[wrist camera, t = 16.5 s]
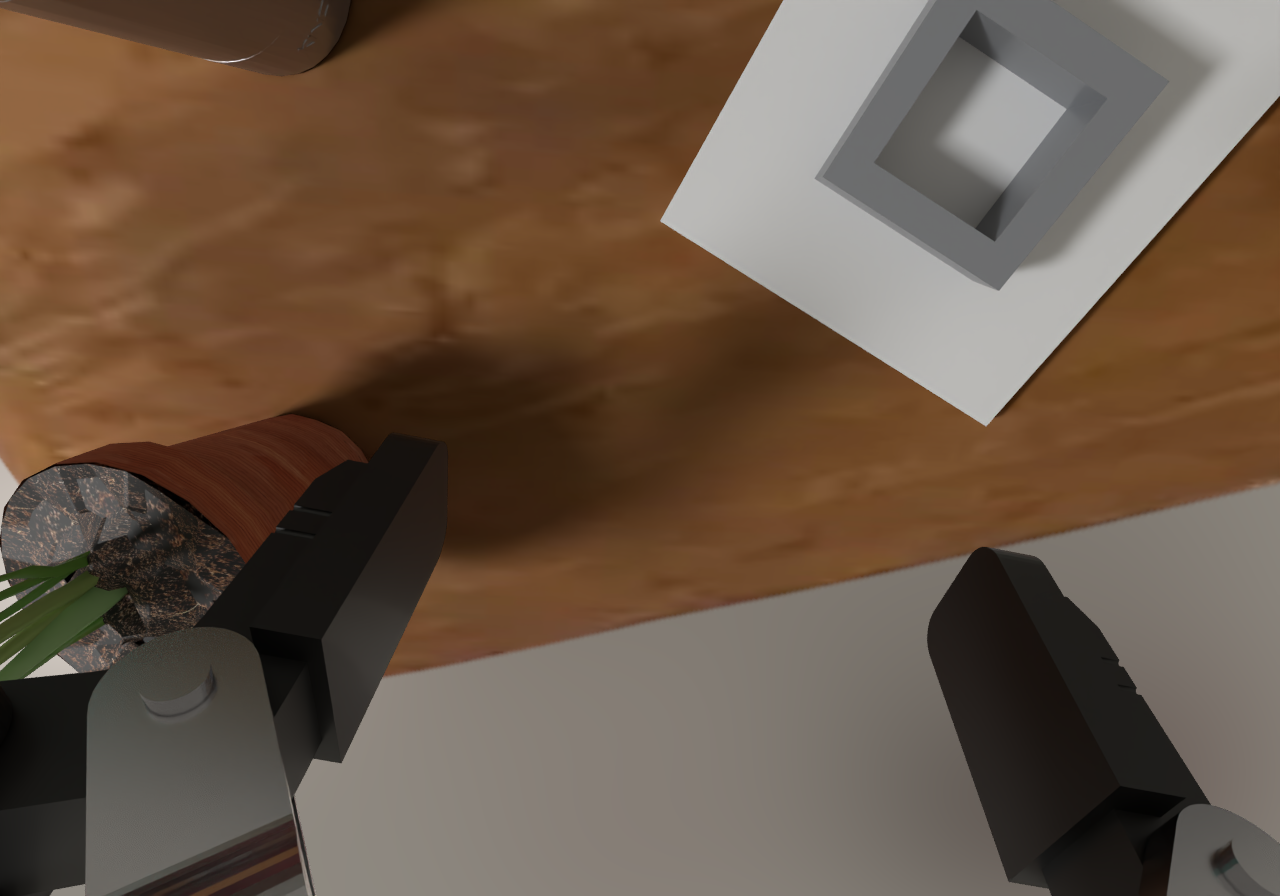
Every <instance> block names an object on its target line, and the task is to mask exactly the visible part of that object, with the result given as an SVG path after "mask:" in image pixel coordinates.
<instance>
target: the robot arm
mask: <svg viewBox="0 0 1280 896" xmlns="http://www.w3.org/2000/svg"><path fill="white" fill-rule="evenodd" d="M350 2H351V0H0V8H2V9H6V10H10V11H14V12H18V13H22V14H26V15H30V16H34V17H38V18H42V19H46V20H50V21H54V22H58V23H62V24H66V25H70V26H74V27H78V28H82V29H86V30H90V31H94V32H98V33H102V34H106V35H110V36H114V37H118V38H122V39H126V40H130V41H134V42H138V43H142V44H146V45H150V46H154V47H158V48H162V49H166V50H170V51H174V52H178V53H182V54H186V55H190V56H194V57H198V58H202V59H205V60H209V61H213V62H217V63H221V64H225V65H229V66H233V67H237V68H241V69H245V70H249V71H254V72H258V73H262V74H267V75H276V76H286V75H293V74H299V73H301V72H303V71H305V70H308V69H310V68H312V67H314V66H315V65H316V64H318V63H319V62H320V61H321V60H322V59H324V58H325V57H326V56H327V55H328V54H329V52H330V51H331V50H332V48H333V47H334V46H335V44H336V43H337V41H338V40H339V38H340V35H341V33H342V31H343V28H344V26H345V24H346V21H347V16H348V11H349V7H350ZM447 487H448V451H447V446H446V443H445V442H442V441H436V440H431V439H426V438H421V437H415V436H410V435H405V434H400V433H391V434H390V435H388V437H387V438H386V439H385V440H384V442H383V443H382V445H381V446H380V447H379V449H378V450H377V451H376V453H375V454H374V456H373V457H372V458H371V460H370V461H369V462H368V463H363V462H358V461H353V460H346V461H344V462H343V463H341V464H339V465H338V466H336V467H334V468H333V469H331V470H329V471H328V472H326V473H324V474H322V475H321V476H319V477H317V478H316V479H315V480H314V481H313V482H312V483H311V484H310V486H309V487H308V488H307V489H306V491H305V492H304V493H303V494H302V496H301V497H300V498H299V499H298V500H297V502H296V503H295V504H294V508H293V510H289V511H288V513H287V514H286V515H285V516H284V518H283V519H282V520H281V521H280V523H279V524H278V525H277V526H276V531H275V533H272V532H271V534H270V535H269V536H268V537H267V538H266V540H265V541H264V542H263V543H262V545H261V546H260V547H259V548H258V550H257V551H256V552H255V553H254V554H253V556H252V557H251V558H250V559H249V561H248V562H247V563H246V564H245V565H244V567H243V568H242V569H241V570H240V572H239V573H238V574H237V575H236V577H235V578H234V579H233V580H232V581H231V583H230V584H229V585H228V586H227V588H226V589H225V590H224V591H223V592H222V594H221V595H220V596H219V597H218V599H217V600H216V601H215V602H214V604H213V605H212V606H211V607H210V608H209V610H208V611H207V612H206V613H205V615H204V616H203V617H202V618H201V619H200V620H199V621H198V623H197V624H196V625H195V626H194V627H193V628H188V629H183V630H179V631H175V632H171V633H168V634H165V635H162V636H159V637H157V638H155V639H153V640H150V641H148V642H146V643H144V644H142V645H141V646H139V647H137V648H135V649H134V650H132V651H131V652H129V653H128V654H127V655H125V656H124V657H122V658H121V659H120V660H119V661H118V662H116V663H115V664H114V665H113V666H112V667H111V668H110V669H107V670H100V671H93V672H85V673H75V674H65V675H55V676H45V677H35V678H25V679H16V680H6V681H0V896H50V894H51V893H52V891H53V890H55V889H60V888H66V887H71V886H77V885H82V884H85V885H86V886H85V896H316V892H315V888H314V883H313V878H312V874H311V869H310V865H309V860H308V856H307V851H306V846H305V841H304V837H303V832H302V827H301V823H300V818H299V814H298V809H297V804H296V800H295V795H294V794H295V792H296V790H297V788H298V786H299V784H300V783H301V781H302V779H303V777H304V775H305V773H306V771H307V769H308V767H309V765H310V763H311V761H312V759H313V758H314V759H320V760H326V761H331V762H338V763H342V761H343V759H344V757H345V755H346V752H347V750H348V748H349V746H350V744H351V742H352V740H353V738H354V735H355V734H356V731H357V729H358V727H359V725H360V723H361V721H362V719H363V717H364V715H365V713H366V710H367V708H368V706H369V704H370V702H371V700H372V698H373V696H374V694H375V691H376V689H377V687H378V685H379V683H380V681H381V679H382V677H383V675H384V673H385V670H386V668H387V666H388V664H389V662H390V660H391V658H392V656H393V654H394V652H395V649H396V647H397V645H398V643H399V641H400V639H401V637H402V635H403V633H404V631H405V628H406V626H407V624H408V622H409V620H410V618H411V616H412V614H413V612H414V609H415V607H416V605H417V603H418V601H419V599H420V597H421V595H422V593H423V591H424V588H425V586H426V584H427V582H428V580H429V578H430V576H431V574H432V572H433V570H434V567H435V565H436V563H437V561H438V559H439V556H440V553H441V550H442V547H443V543H444V539H445V534H446V527H447ZM927 643H928V650H929V654H930V657H931V660H932V663H933V666H934V669H935V672H936V675H937V677H938V680H939V683H940V686H941V689H942V691H943V695H944V697H945V700H946V703H947V706H948V709H949V712H950V714H951V718H952V720H953V723H954V726H955V729H956V732H957V734H958V738H959V741H960V743H961V746H962V749H963V752H964V755H965V758H966V761H967V764H968V766H969V769H970V772H971V775H972V778H973V781H974V783H975V787H976V789H977V792H978V795H979V798H980V801H981V804H982V807H983V809H984V812H985V815H986V818H987V821H988V824H989V827H990V829H991V832H992V835H993V838H994V841H995V844H996V847H997V850H998V852H999V855H1000V858H1001V861H1002V864H1003V867H1004V870H1005V872H1006V876H1007V878H1008V881H1009V882H1014V883H1019V884H1025V885H1031V886H1036V887H1042V888H1048V889H1049V890H1050V893H1051V895H1052V896H1280V844H1279V843H1278V842H1277V841H1276V840H1275V839H1273V838H1272V837H1271V836H1270V835H1268V834H1267V833H1266V832H1264V831H1263V830H1261V829H1260V828H1259V827H1257V826H1256V825H1254V824H1253V823H1251V822H1249V821H1248V820H1246V819H1244V818H1243V817H1241V816H1239V815H1237V814H1235V813H1232V812H1231V811H1228V810H1226V809H1223V808H1220V807H1217V806H1212V805H1211V804H1210V803H1209V801H1208V800H1207V798H1206V796H1205V795H1204V793H1203V792H1202V790H1201V789H1200V787H1199V785H1198V784H1197V782H1196V781H1195V779H1194V777H1193V776H1192V774H1191V773H1190V771H1189V770H1188V768H1187V767H1186V765H1185V763H1184V762H1183V760H1182V758H1181V757H1180V755H1179V754H1178V752H1177V751H1176V749H1175V747H1174V746H1173V744H1172V743H1171V741H1170V740H1169V738H1168V736H1167V735H1166V733H1165V732H1164V730H1163V728H1162V727H1161V726H1160V724H1159V722H1158V721H1157V719H1156V717H1155V716H1154V714H1153V713H1152V711H1151V710H1150V708H1149V706H1148V705H1147V703H1146V702H1145V700H1144V699H1143V697H1142V695H1138V694H1136V686H1135V684H1134V683H1133V681H1132V680H1131V678H1130V677H1129V675H1128V673H1127V672H1126V670H1125V669H1124V667H1120V666H1119V665H1118V662H1119V659H1118V657H1117V656H1116V654H1115V653H1114V651H1113V650H1112V648H1111V646H1110V645H1109V643H1108V642H1107V640H1106V639H1105V637H1104V635H1103V634H1102V632H1101V631H1100V629H1099V628H1098V627H1097V626H1096V625H1095V624H1094V623H1093V622H1092V621H1091V620H1090V619H1089V618H1088V617H1087V616H1086V615H1085V614H1084V613H1083V612H1082V611H1081V610H1080V609H1079V608H1078V607H1077V606H1076V605H1075V604H1074V603H1073V602H1072V601H1070V599H1069V598H1068V597H1064V596H1063V594H1062V592H1061V591H1060V589H1059V588H1058V586H1057V584H1056V583H1055V581H1054V580H1053V578H1052V576H1051V574H1050V573H1049V571H1048V569H1047V568H1046V566H1045V565H1044V564H1043V562H1042V561H1041V560H1040V559H1038V558H1037V557H1035V556H1031V555H1025V554H1020V553H1015V552H1009V551H1004V550H999V549H994V548H989V547H981V548H978V549H977V550H975V551H974V552H973V553H972V554H971V555H970V557H969V558H968V560H967V562H966V563H965V564H964V566H963V567H962V569H961V571H960V572H959V574H958V575H957V577H956V578H955V580H954V581H953V583H952V585H951V586H950V588H949V589H948V590H947V592H946V594H945V595H944V597H943V598H942V600H941V601H940V603H939V604H938V606H937V607H936V609H935V611H934V612H933V614H932V616H931V619H930V622H929V626H928V634H927Z"/></svg>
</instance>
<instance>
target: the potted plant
mask: <svg viewBox="0 0 1280 896" xmlns="http://www.w3.org/2000/svg"><path fill="white" fill-rule="evenodd" d="M346 460H353V461H358V462H363V463H368V461H367V459H366V457H365V456H364V454H363V452H362V451H361V449H360V448H359V447H358V446H357V445H356V444H355V443H354V442H353V441H352V440H351V439H349V438H348V437H347V436H346V435H345V434H344V433H343V432H342V431H340V430H338V429H336V428H334V427H331V426H329V425H327V424H324V423H322V422H320V421H317V420H314V419H310V418H306V417H302V416H299V415H295V414H289V415H284V416H279V417H273V418H268V419H265V420H261V421H257V422H254V423H250V424H247V425H243V426H240V427H236V428H232V429H229V430H225V431H222V432H218V433H214V434H211V435H207V436H204V437H200V438H197V439H193V440H189V441H186V442H182V443H179V444H175V445H171V446H168V447H167V446H164V445H160V444H156V443H152V442H135V443H118V444H109V445H106V446H103V447H100V448H98V449H95V450H92V451H89V452H86V453H83V454H81V455H78V456H75V457H72V458H69V459H67V460H64V461H61V462H59V463H56V464H54V465H52V466H50V467H48V468H46V469H44V470H42V471H40V472H38V473H36V474H34V475H32V476H30V477H28V478H26V479H24V480H23V481H22V482H21V484H20V485H19V486H18V488H17V489H16V491H15V492H14V494H13V495H12V497H11V498H10V500H9V501H8V503H7V504H6V506H5V507H4V512H3V520H2V525H1V535H0V547H1V552H2V558H3V561H4V565H5V570H6V574H4V575H1V576H0V582H2V581H5V580H8V582H9V584H10V586H11V587H10V588H7V589H5V590H3V591H1V592H0V601H2V600H4V599H6V598H8V597H11V596H14V595H16V597H17V599H18V601H17V602H15V603H14V604H13V605H11V606H10V607H8V608H7V609H5V610H4V611H2V612H0V622H1V621H2V620H4V619H6V618H7V617H9V616H11V615H12V614H14V613H15V612H17V611H19V610H20V609H23V610H21V611H20V612H18V613H17V614H15V615H14V616H12V617H10V618H9V619H8V620H6V621H5V622H3V623H2V624H0V644H1V643H2V642H4V641H5V640H7V639H9V638H10V637H12V636H13V637H12V638H11V639H9V640H8V641H7V642H6V643H4V644H3V645H2V646H1V647H0V665H1V664H2V663H4V662H5V661H6V660H7V659H9V658H10V657H12V656H13V655H14V654H16V653H17V652H18V651H20V650H21V649H23V648H24V647H25V646H26V647H25V648H24V649H23V650H22V651H21V652H20V653H19V654H18V655H17V656H16V657H15V658H14V659H13V660H12V661H10V662H9V663H8V664H7V665H6V666H5V667H4V668H3V669H2V670H1V671H0V681H6V680H16V679H24V678H25V677H26V676H28V675H29V674H31V673H32V672H33V671H35V670H36V669H38V668H39V667H40V666H42V665H43V664H44V663H46V662H47V661H49V660H50V659H51V658H53V657H54V656H55V655H58V656H60V657H61V658H62V659H63V660H64V661H66V662H67V663H68V664H69V665H71V666H72V667H73V668H74V669H75V670H76V671H77V672H79V673H85V672H93V671H100V670H107V669H110V668H111V667H112V666H113V665H114V664H115V663H116V662H118V661H119V660H120V659H121V658H122V657H124V656H125V655H127V654H128V653H129V652H131V651H132V650H134V649H135V648H137V647H139V646H141V645H142V644H144V643H146V642H148V641H150V640H153V639H155V638H157V637H159V636H162V635H165V634H168V633H171V632H175V631H179V630H183V629H188V628H193V627H194V626H195V625H196V624H197V623H198V621H199V620H200V619H201V618H202V617H203V616H204V615H205V613H206V612H207V611H208V610H209V608H210V607H211V606H212V605H213V604H214V602H215V601H216V600H217V599H218V597H219V596H220V595H221V594H222V592H223V591H224V590H225V589H226V588H227V586H228V585H229V584H230V583H231V581H232V580H233V579H234V578H235V577H236V575H237V574H238V573H239V572H240V570H241V569H242V568H243V567H244V565H245V564H246V563H247V562H248V561H249V559H250V558H251V557H252V556H253V554H254V553H255V552H256V551H257V550H258V548H259V547H260V546H261V545H262V543H263V542H264V541H265V540H266V538H267V537H268V536H269V535H270V534H271V532H272V533H275V531H276V526H277V525H278V524H279V523H280V521H281V520H282V519H283V518H284V516H285V515H286V514H287V513H288V511H289V510H293V508H294V504H295V503H296V502H297V500H298V499H299V498H300V497H301V496H302V494H303V493H304V492H305V491H306V489H307V488H308V487H309V486H310V484H311V483H312V482H313V481H314V480H315V479H316V478H317V477H319V476H321V475H322V474H324V473H326V472H328V471H329V470H331V469H333V468H334V467H336V466H338V465H339V464H341V463H343V462H344V461H346ZM15 634H16V635H15ZM14 635H15V636H14Z"/></svg>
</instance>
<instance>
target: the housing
mask: <svg viewBox="0 0 1280 896" xmlns="http://www.w3.org/2000/svg"><path fill="white" fill-rule="evenodd" d="M1279 96H1280V0H783V2H782V4H781V6H780V7H779V9H778V11H777V13H776V15H775V16H774V18H773V20H772V22H771V23H770V25H769V27H768V29H767V31H766V32H765V34H764V36H763V38H762V40H761V41H760V43H759V45H758V47H757V49H756V50H755V52H754V54H753V56H752V58H751V59H750V61H749V63H748V65H747V66H746V68H745V70H744V72H743V74H742V75H741V77H740V79H739V81H738V83H737V84H736V86H735V88H734V90H733V92H732V93H731V95H730V97H729V99H728V101H727V102H726V104H725V106H724V108H723V110H722V111H721V113H720V115H719V117H718V118H717V120H716V122H715V124H714V126H713V127H712V129H711V131H710V133H709V135H708V136H707V138H706V140H705V142H704V144H703V145H702V147H701V149H700V151H699V153H698V154H697V156H696V158H695V160H694V161H693V163H692V165H691V167H690V169H689V170H688V172H687V174H686V176H685V178H684V179H683V181H682V183H681V185H680V187H679V188H678V190H677V192H676V194H675V196H674V197H673V199H672V201H671V203H670V205H669V206H668V208H667V210H666V212H665V213H664V215H663V217H662V219H661V222H662V223H664V224H666V225H667V226H669V227H670V228H672V229H674V230H675V231H677V232H678V233H680V234H682V235H683V236H685V237H686V238H688V239H689V240H691V241H693V242H694V243H696V244H697V245H699V246H701V247H702V248H704V249H705V250H707V251H709V252H710V253H712V254H713V255H715V256H716V257H718V258H720V259H721V260H723V261H724V262H726V263H728V264H729V265H731V266H732V267H734V268H736V269H737V270H739V271H740V272H742V273H744V274H745V275H747V276H748V277H750V278H751V279H753V280H755V281H756V282H758V283H759V284H761V285H763V286H764V287H766V288H767V289H769V290H771V291H772V292H774V293H775V294H777V295H778V296H780V297H782V298H783V299H785V300H786V301H788V302H790V303H791V304H793V305H794V306H796V307H798V308H799V309H801V310H802V311H804V312H805V313H807V314H809V315H810V316H812V317H813V318H815V319H817V320H818V321H820V322H821V323H823V324H825V325H826V326H828V327H829V328H831V329H832V330H834V331H836V332H837V333H839V334H840V335H842V336H844V337H845V338H847V339H848V340H850V341H852V342H853V343H855V344H856V345H858V346H859V347H861V348H863V349H864V350H866V351H867V352H869V353H871V354H872V355H874V356H875V357H877V358H879V359H880V360H882V361H883V362H885V363H887V364H888V365H890V366H891V367H893V368H894V369H896V370H898V371H899V372H901V373H902V374H904V375H906V376H907V377H909V378H910V379H912V380H914V381H915V382H917V383H918V384H920V385H921V386H923V387H925V388H926V389H928V390H929V391H931V392H933V393H934V394H936V395H937V396H939V397H941V398H942V399H944V400H945V401H947V402H948V403H950V404H952V405H953V406H955V407H956V408H958V409H960V410H961V411H963V412H964V413H966V414H968V415H969V416H971V417H972V418H974V419H975V420H977V421H979V422H980V423H982V424H983V425H985V426H987V425H988V424H989V423H990V421H991V420H992V419H993V418H994V417H995V416H996V415H997V414H998V412H999V411H1000V410H1001V409H1002V408H1003V407H1004V406H1005V405H1006V403H1007V402H1008V401H1009V400H1010V399H1011V398H1012V397H1013V396H1014V394H1015V393H1016V392H1017V391H1018V390H1019V389H1020V388H1021V387H1022V385H1023V384H1024V383H1025V382H1026V381H1027V380H1028V379H1029V378H1030V376H1031V375H1032V374H1033V373H1034V372H1035V371H1036V370H1037V369H1038V367H1039V366H1040V365H1041V364H1042V363H1043V362H1044V361H1045V360H1046V358H1047V357H1048V356H1049V355H1050V354H1051V353H1052V352H1053V351H1054V349H1055V348H1056V347H1057V346H1058V345H1059V344H1060V343H1061V342H1062V340H1063V339H1064V338H1065V337H1066V336H1067V335H1068V334H1069V332H1070V331H1071V330H1072V329H1073V328H1074V327H1075V326H1076V325H1077V323H1078V322H1079V321H1080V320H1081V319H1082V318H1083V317H1084V316H1085V314H1086V313H1087V312H1088V311H1089V310H1090V309H1091V308H1092V307H1093V305H1094V304H1095V303H1096V302H1097V301H1098V300H1099V299H1100V298H1101V296H1102V295H1103V294H1104V293H1105V292H1106V291H1107V290H1108V289H1109V287H1110V286H1111V285H1112V284H1113V283H1114V282H1115V281H1116V280H1117V278H1118V277H1119V276H1120V275H1121V274H1122V273H1123V272H1124V271H1125V269H1126V268H1127V267H1128V266H1129V265H1130V264H1131V263H1132V262H1133V260H1134V259H1135V258H1136V257H1137V256H1138V255H1139V254H1140V253H1141V251H1142V250H1143V249H1144V248H1145V247H1146V246H1147V245H1148V244H1149V242H1150V241H1151V240H1152V239H1153V238H1154V237H1155V236H1156V235H1157V233H1158V232H1159V231H1160V230H1161V229H1162V228H1163V227H1164V226H1165V224H1166V223H1167V222H1168V221H1169V220H1170V219H1171V218H1172V217H1173V215H1174V214H1175V213H1176V212H1177V211H1178V210H1179V209H1180V207H1181V206H1182V205H1183V204H1184V203H1185V202H1186V201H1187V200H1188V198H1189V197H1190V196H1191V195H1192V194H1193V193H1194V192H1195V191H1196V189H1197V188H1198V187H1199V186H1200V185H1201V184H1202V183H1203V182H1204V180H1205V179H1206V178H1207V177H1208V176H1209V175H1210V174H1211V173H1212V171H1213V170H1214V169H1215V168H1216V167H1217V166H1218V165H1219V164H1220V162H1221V161H1222V160H1223V159H1224V158H1225V157H1226V156H1227V155H1228V153H1229V152H1230V151H1231V150H1232V149H1233V148H1234V147H1235V146H1236V144H1237V143H1238V142H1239V141H1240V140H1241V139H1242V138H1243V137H1244V135H1245V134H1246V133H1247V132H1248V131H1249V130H1250V129H1251V128H1252V126H1253V125H1254V124H1255V123H1256V122H1257V121H1258V120H1259V119H1260V117H1261V116H1262V115H1263V114H1264V113H1265V112H1266V111H1267V110H1268V108H1269V107H1270V106H1271V105H1272V104H1273V103H1274V102H1275V101H1276V99H1277V98H1278V97H1279Z"/></svg>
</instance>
